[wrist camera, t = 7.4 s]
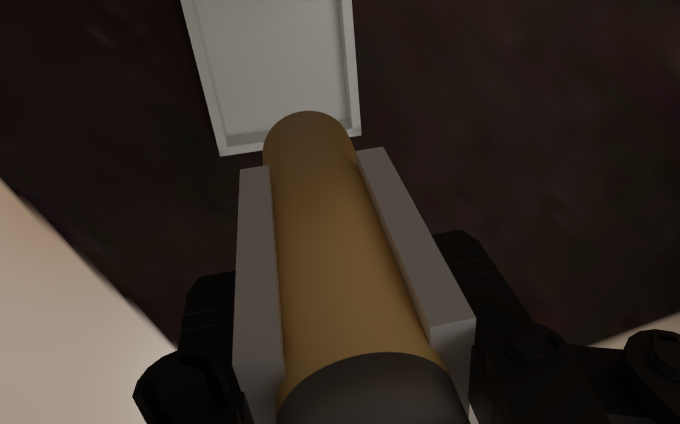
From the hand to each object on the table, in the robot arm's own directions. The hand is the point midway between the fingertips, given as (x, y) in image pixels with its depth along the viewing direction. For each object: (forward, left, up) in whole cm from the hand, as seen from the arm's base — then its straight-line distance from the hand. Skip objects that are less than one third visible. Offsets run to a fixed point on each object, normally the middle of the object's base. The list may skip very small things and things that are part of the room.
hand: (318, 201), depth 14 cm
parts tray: (0, 0, -22) cm, 22 cm away
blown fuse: (0, 0, -3) cm, 3 cm away
